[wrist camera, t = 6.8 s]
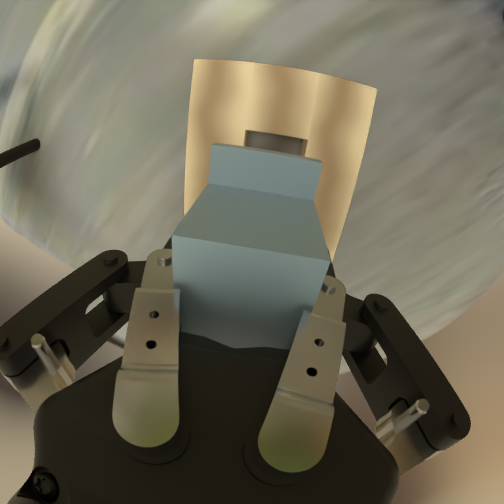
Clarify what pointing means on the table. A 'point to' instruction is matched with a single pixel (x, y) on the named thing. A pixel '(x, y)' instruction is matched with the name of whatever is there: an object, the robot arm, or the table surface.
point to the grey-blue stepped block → (251, 248)
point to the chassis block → (281, 126)
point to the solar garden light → (19, 152)
